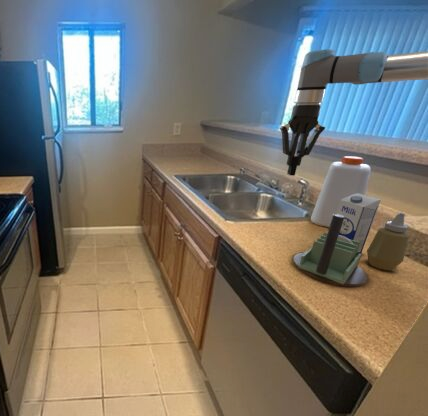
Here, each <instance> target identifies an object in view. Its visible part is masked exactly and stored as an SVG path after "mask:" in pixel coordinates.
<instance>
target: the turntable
mask: <svg viewBox="0 0 428 416" xmlns="http://www.w3.org/2000/svg"><path fill="white" fill-rule="evenodd" d="M306 252H307V251H302V252H298V253H295V255H294V256H293V258H292V263H293V265H294V266H295V268H296V269H297V270H299V271H300V272H301V273H303V274H304V275H306V276H308V277H310V278H311V279H314V280H315V281H316V280H317V281H319V282H322V283H325V284H329V285H333V286H336V287H337V286H338V287H344V288H357V287H362V286H364V285H365V284H366V283H367V280H368V274H367V273H366V271H365V270H363V268H361V267H360V266H359V265H358V266H357V267H356V268H355V270H354V271H353V272H352V274H351V275H350V276H349V278H348V279H347V280H346V282H345V283H344V284H341V283H338V282H335V281H333V280H330V279H327V278H325V277H322V276H319V275H317V274H314V273H312V272H309V271H306V270H304V269H301V268H298V266H299V264H300V261H301V257H302V255H303V254H304V253H306Z"/></svg>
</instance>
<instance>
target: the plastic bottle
mask: <svg viewBox="0 0 428 416" xmlns="http://www.w3.org/2000/svg"><path fill="white" fill-rule="evenodd" d="M363 161H364V158H363V157H360V156H352V155H346V156H345V155H344V156H343V157H342V158H341V161H333V162H332V163H331V164H330V166H329V167H328V170H327V173H326V176H325V178H324V181H323V184H322V187H321V189H320V192H319V194H318V197H317V200H316V203H315V205H314V208H313V210H312V213H311V217H310V221H311V222H312V224H315V225H317V226H320V227H325V228H329V227H330V224H331V220H332V217H333V214H337V210H338V207H339V204H340V201H341V199H343V198H346V197H348V196H350V195H352V194H356V193H360V194H363V195H366V194H367V189H368V185H369V182H370V177H371V172H372V170H371V169H372V168H371V166H370V165H369V164H366V163H363Z"/></svg>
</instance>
